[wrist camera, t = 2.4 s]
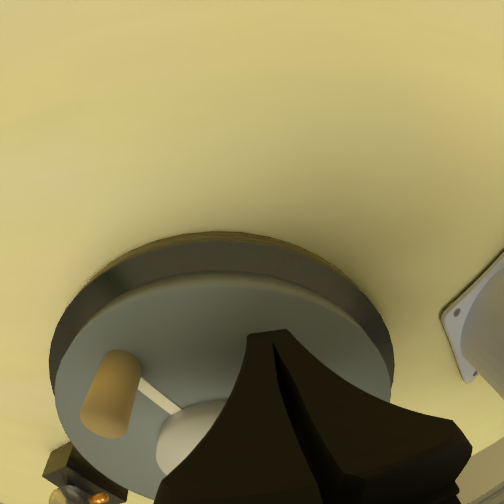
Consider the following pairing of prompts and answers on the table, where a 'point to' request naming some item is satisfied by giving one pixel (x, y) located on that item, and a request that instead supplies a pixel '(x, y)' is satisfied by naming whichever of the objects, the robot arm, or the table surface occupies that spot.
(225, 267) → the plinth
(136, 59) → the table surface
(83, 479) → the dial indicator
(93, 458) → the disc
